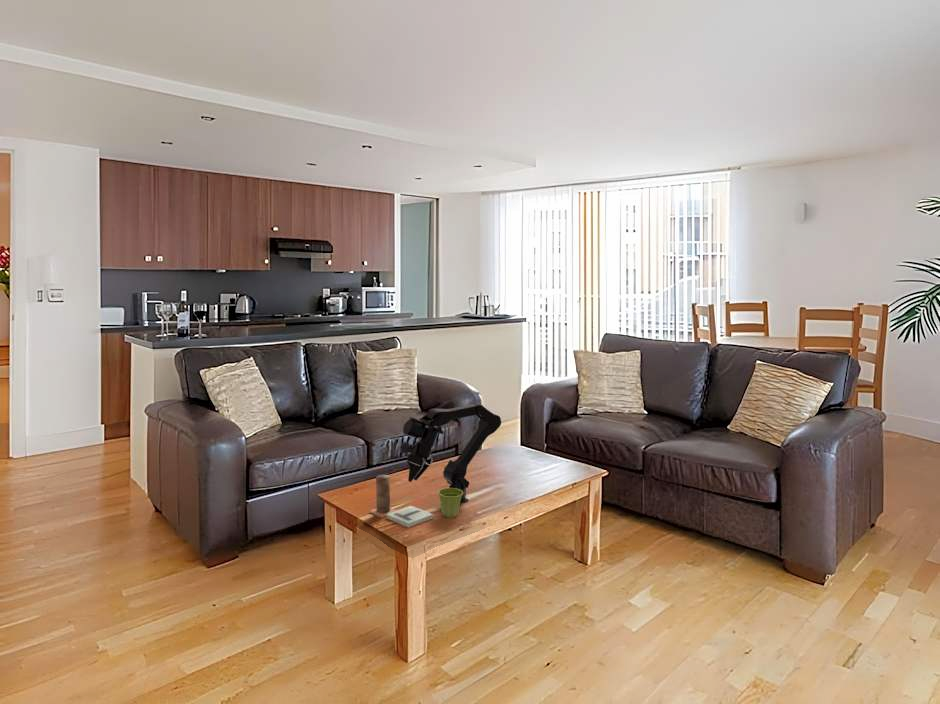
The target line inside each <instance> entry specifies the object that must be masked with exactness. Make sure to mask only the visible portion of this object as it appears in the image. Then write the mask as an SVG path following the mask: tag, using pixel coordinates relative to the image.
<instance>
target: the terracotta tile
mask: <svg viewBox="0 0 940 704" xmlns="http://www.w3.org/2000/svg"><path fill="white" fill-rule="evenodd" d="M394 511H397V510H396V509H393V508H391V507H390V511H389V512H387V513H379V512H377V507H376V508H373V509H370V510H369V513H370V514H372V515H375V516H377V517H378V518H385V517H387V514H388V513H391V512H394Z"/></svg>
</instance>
